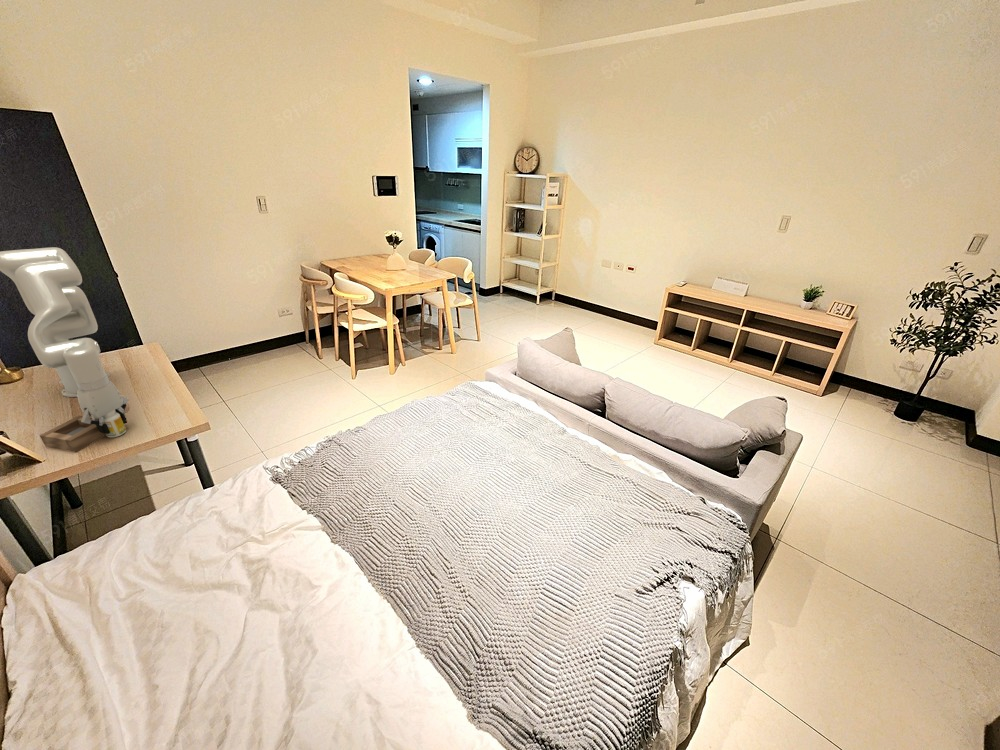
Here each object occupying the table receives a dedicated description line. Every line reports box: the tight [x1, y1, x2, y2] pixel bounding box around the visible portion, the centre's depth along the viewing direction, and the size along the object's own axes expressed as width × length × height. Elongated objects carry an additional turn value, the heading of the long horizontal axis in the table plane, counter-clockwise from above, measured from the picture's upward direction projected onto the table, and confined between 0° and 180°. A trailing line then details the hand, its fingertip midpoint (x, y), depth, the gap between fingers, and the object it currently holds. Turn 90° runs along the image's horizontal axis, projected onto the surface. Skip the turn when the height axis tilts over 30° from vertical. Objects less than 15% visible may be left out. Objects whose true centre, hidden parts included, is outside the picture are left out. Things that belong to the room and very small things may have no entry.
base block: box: [38, 415, 107, 453], centre depth 140 cm, size 12×12×5 cm
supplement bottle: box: [103, 410, 127, 438], centre depth 142 cm, size 5×5×10 cm
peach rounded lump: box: [121, 395, 130, 413], centre depth 155 cm, size 6×6×5 cm
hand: (114, 427), depth 143 cm, fingers closed on supplement bottle, 5 cm apart
